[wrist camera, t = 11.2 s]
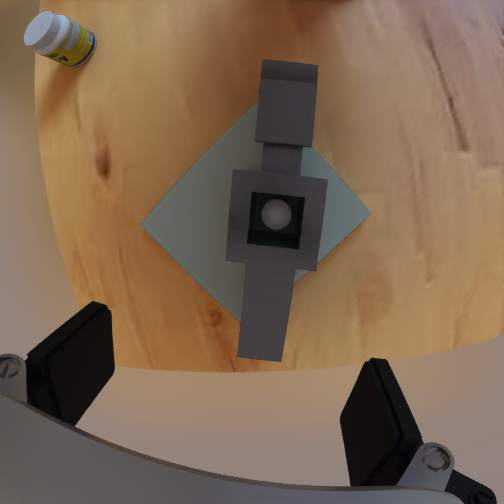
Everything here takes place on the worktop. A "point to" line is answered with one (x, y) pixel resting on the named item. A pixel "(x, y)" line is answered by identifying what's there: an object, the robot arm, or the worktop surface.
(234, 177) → the link
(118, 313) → the worktop surface
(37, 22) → the supplement bottle
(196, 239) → the board
